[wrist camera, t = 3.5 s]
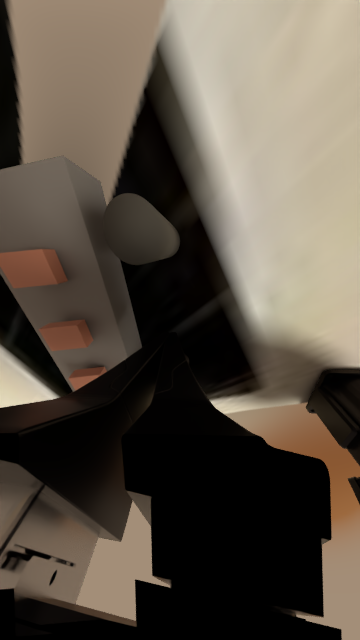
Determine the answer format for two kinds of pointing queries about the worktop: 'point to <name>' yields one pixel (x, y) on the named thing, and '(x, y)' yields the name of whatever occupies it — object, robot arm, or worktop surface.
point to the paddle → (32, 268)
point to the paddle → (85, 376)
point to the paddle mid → (66, 335)
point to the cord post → (138, 231)
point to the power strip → (68, 259)
